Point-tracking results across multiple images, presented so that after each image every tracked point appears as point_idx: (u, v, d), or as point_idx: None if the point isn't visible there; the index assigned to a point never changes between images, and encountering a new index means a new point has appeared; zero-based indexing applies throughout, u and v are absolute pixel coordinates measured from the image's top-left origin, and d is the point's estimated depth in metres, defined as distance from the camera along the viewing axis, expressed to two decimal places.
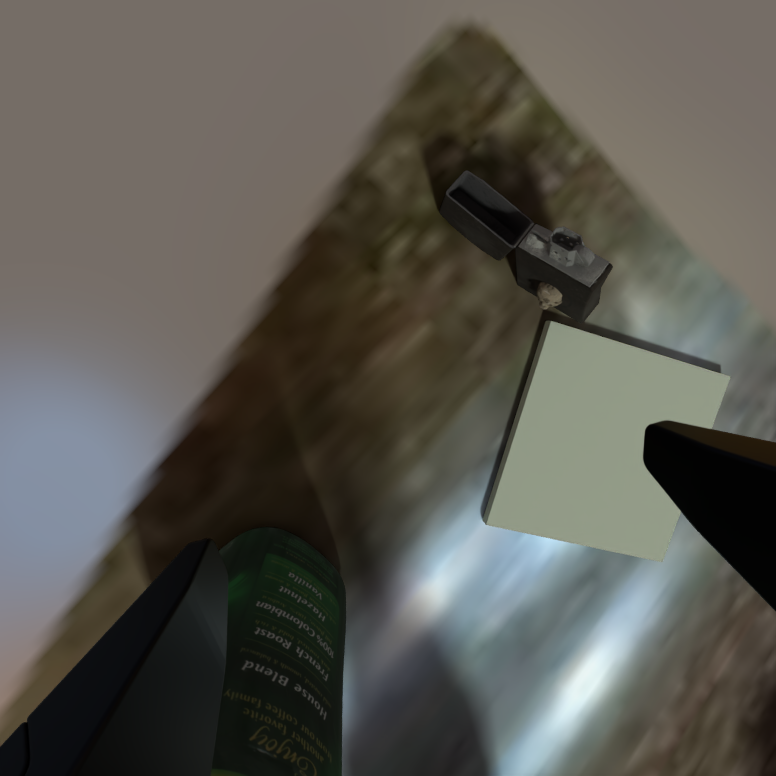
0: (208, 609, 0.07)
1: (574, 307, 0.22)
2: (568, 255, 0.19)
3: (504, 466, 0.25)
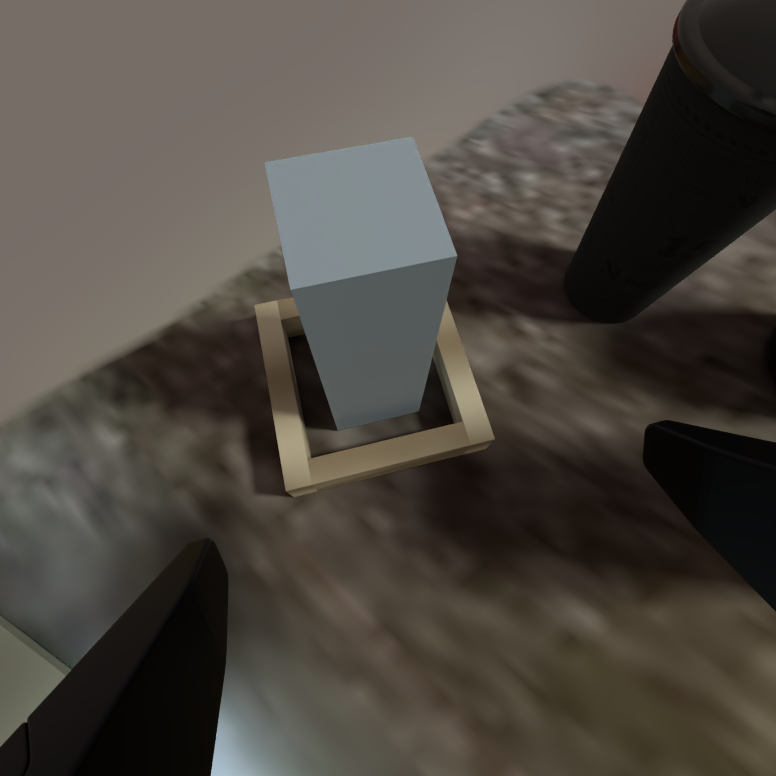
0: (208, 609, 0.07)
1: None
2: None
3: None
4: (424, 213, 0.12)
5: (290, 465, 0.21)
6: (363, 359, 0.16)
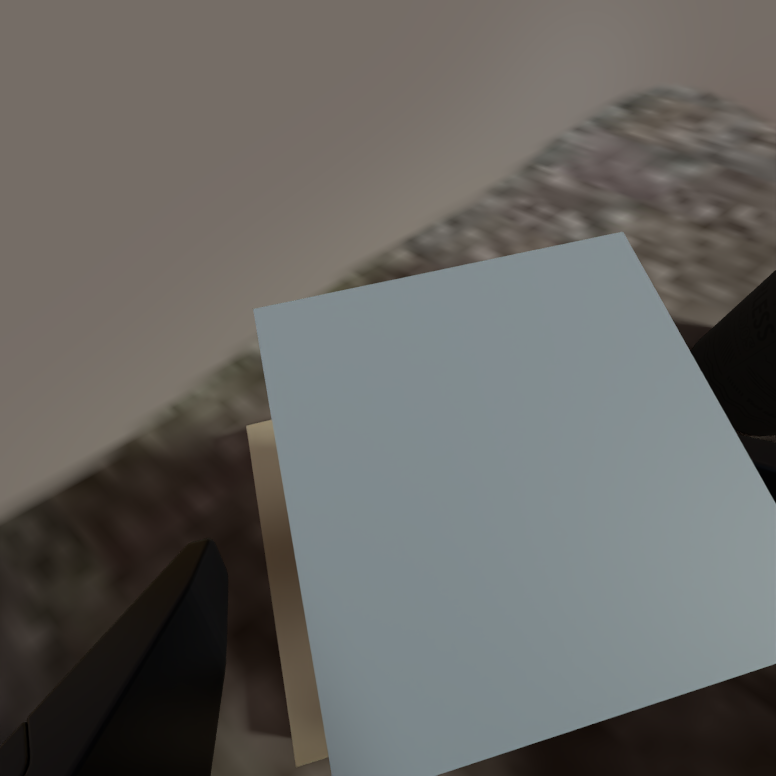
0: (208, 609, 0.07)
1: None
2: None
3: None
4: (709, 473, 0.04)
5: (303, 715, 0.13)
6: None
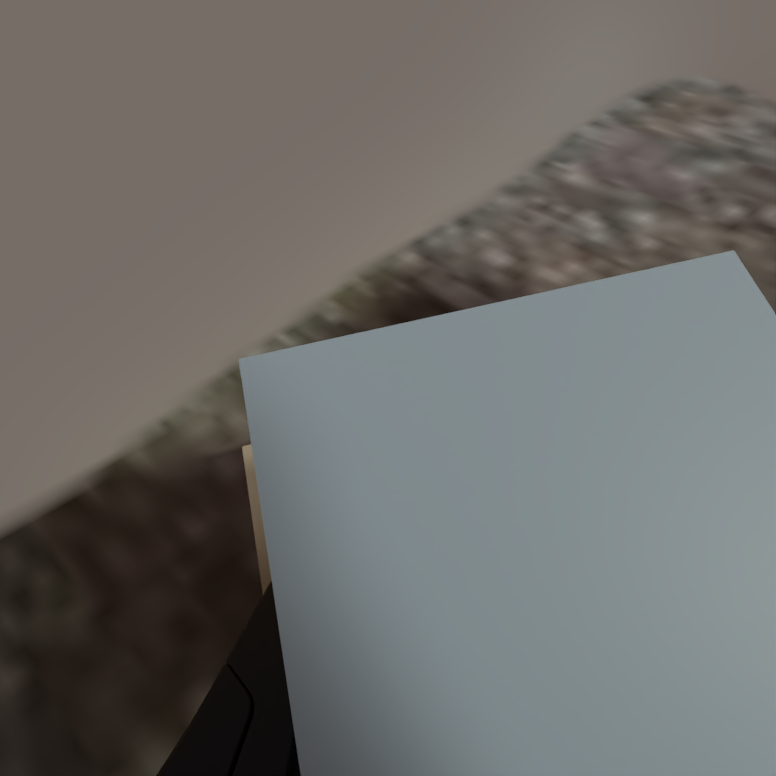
0: None
1: None
2: None
3: None
4: None
5: None
6: None
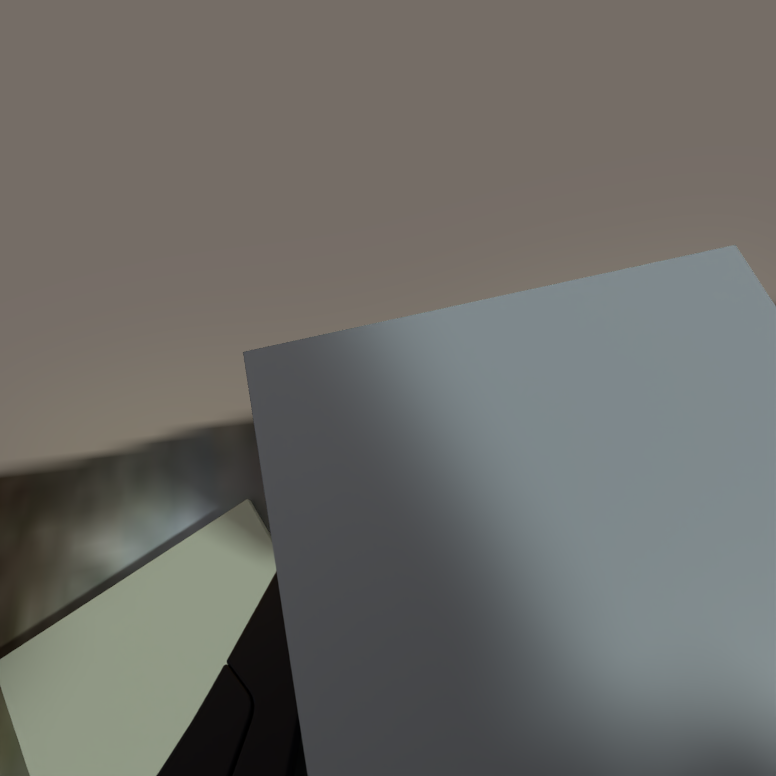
0: None
1: None
2: None
3: None
4: None
5: None
6: None
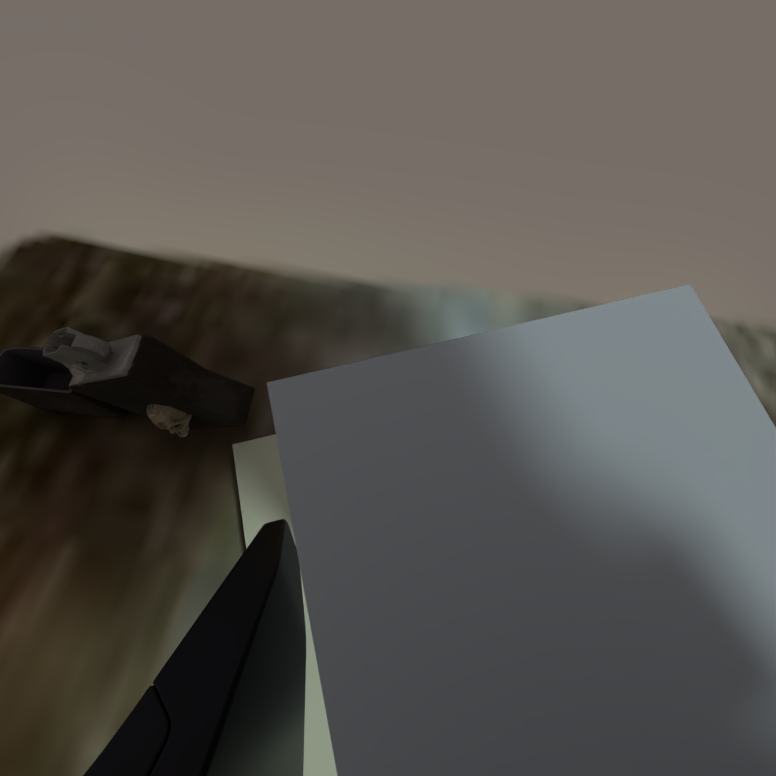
0: (291, 586, 0.08)
1: (197, 411, 0.15)
2: (66, 356, 0.13)
3: None
4: None
5: None
6: None
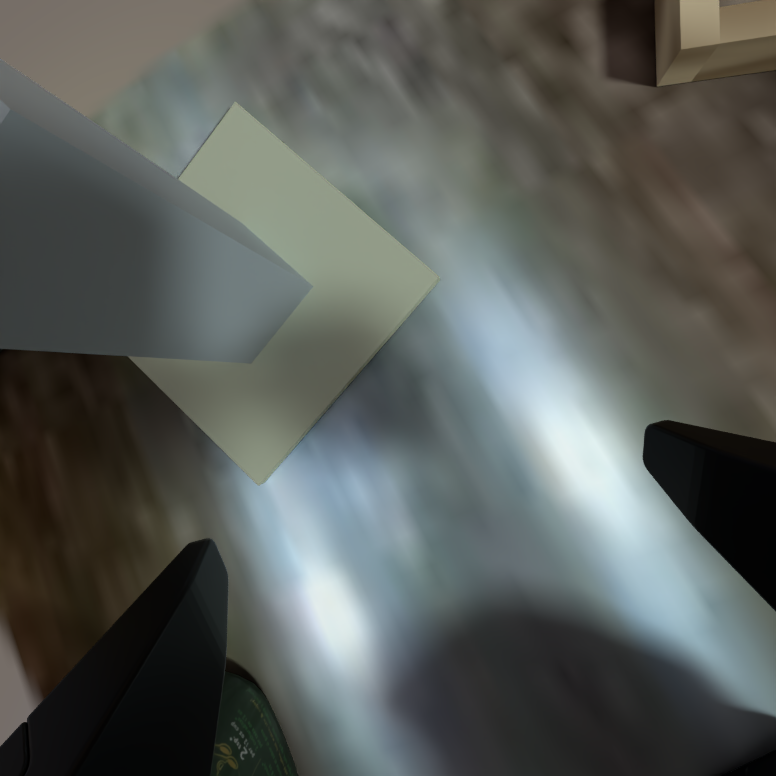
0: (208, 609, 0.07)
1: None
2: None
3: (204, 431, 0.20)
4: None
5: (693, 14, 0.15)
6: (146, 306, 0.12)
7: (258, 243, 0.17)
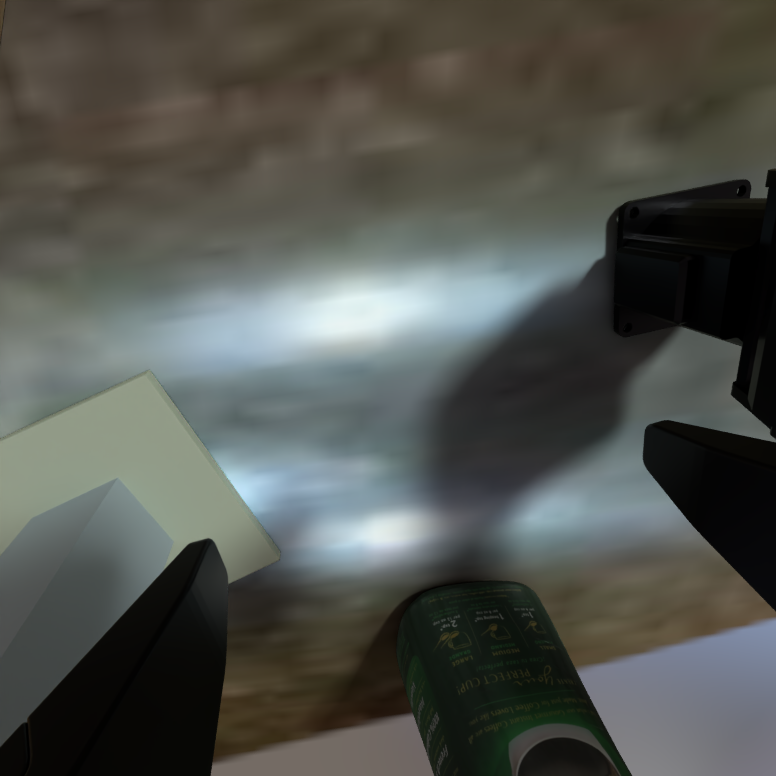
0: (208, 609, 0.07)
1: None
2: None
3: None
4: None
5: None
6: None
7: (57, 526, 0.19)
